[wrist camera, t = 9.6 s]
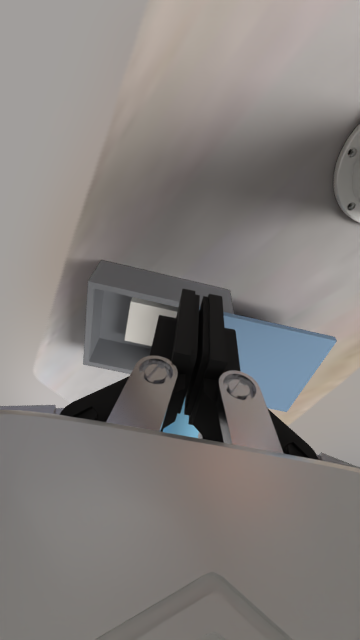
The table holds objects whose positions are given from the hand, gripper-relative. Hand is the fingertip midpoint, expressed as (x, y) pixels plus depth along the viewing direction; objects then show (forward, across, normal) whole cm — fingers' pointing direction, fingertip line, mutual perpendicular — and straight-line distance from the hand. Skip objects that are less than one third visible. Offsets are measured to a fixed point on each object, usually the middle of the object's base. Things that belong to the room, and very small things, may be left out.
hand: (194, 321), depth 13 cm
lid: (+20, -11, +20) cm, 30 cm away
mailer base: (+26, +3, +19) cm, 33 cm away
